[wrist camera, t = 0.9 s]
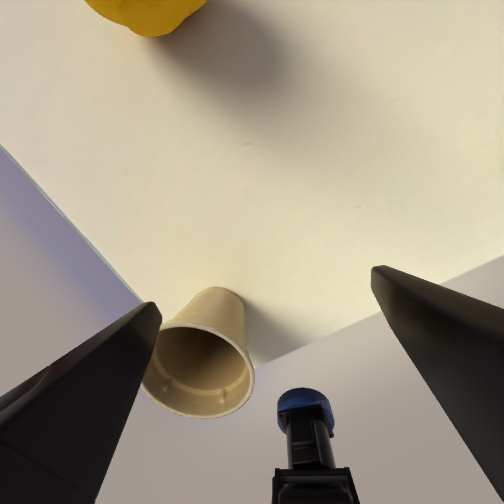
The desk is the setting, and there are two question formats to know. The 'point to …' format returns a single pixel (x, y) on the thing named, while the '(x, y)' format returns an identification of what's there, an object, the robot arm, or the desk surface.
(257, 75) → the desk surface
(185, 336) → the flower pot
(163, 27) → the duckling
